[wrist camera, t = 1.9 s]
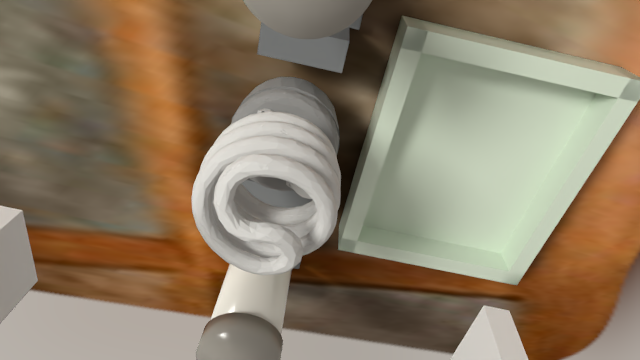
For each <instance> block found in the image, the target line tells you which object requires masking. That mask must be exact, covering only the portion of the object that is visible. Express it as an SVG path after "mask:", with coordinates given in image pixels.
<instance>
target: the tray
mask: <svg viewBox="0 0 640 360" xmlns="http://www.w3.org/2000/svg"><path fill="white" fill-rule="evenodd" d="M639 99H640V77H638V76H636V75H635V74H633V73H631V72H629V71H627V70H626V69H624V68H622V67H619V66H614V65H610V64H606V63H602V62H597V61H593V60H589V59H585V58H580V57H576V56H572V55H568V54H564V53H559V52H555V51H551V50H547V49H542V48H538V47H534V46H530V45H525V44H521V43H517V42H513V41H508V40H504V39H500V38H496V37H492V36H487V35H483V34H479V33H475V32H470V31H466V30H462V29H458V28H453V27H449V26H445V25H441V24H437V23H432V22H428V21H424V20H420V19H415V18H411V17H407V16H403V15H402V16H401V20H400V23H399V26H398V30H397V33H396V36H395V40H394V43H393V47H392V50H391V53H390V57H389V60H388V63H387V67H386V70H385V73H384V77H383V80H382V83H381V87H380V90H379V93H378V97H377V100H376V103H375V107H374V110H373V113H372V117H371V120H370V123H369V127H368V130H367V133H366V137H365V140H364V143H363V147H362V150H361V153H360V157H359V160H358V163H357V167H356V170H355V173H354V177H353V180H352V183H351V187H350V190H349V193H348V197H347V200H346V203H345V207H344V210H343V213H342V217H341V220H340V223H339V240H338V250H342V251H347V252H352V253H357V254H362V255H367V256H372V257H377V258H382V259H387V260H392V261H398V262H403V263H408V264H413V265H418V266H423V267H428V268H433V269H438V270H443V271H448V272H453V273H458V274H463V275H468V276H473V277H478V278H483V279H488V280H493V281H498V282H503V283H508V284H513V285H517V284H518V283H519V281H520V280H521V278H522V277H523V275H524V274H525V272H526V271H527V269H528V268H529V266H530V265H531V263H532V262H533V260H534V259H535V257H536V255H537V254H538V252H539V251H540V249H541V248H542V246H543V245H544V243H545V242H546V240H547V239H548V237H549V236H550V234H551V233H552V231H553V230H554V228H555V227H556V225H557V224H558V222H559V221H560V219H561V218H562V216H563V215H564V213H565V212H566V210H567V208H568V207H569V205H570V204H571V202H572V201H573V199H574V198H575V196H576V195H577V193H578V192H579V190H580V189H581V187H582V186H583V184H584V183H585V181H586V180H587V178H588V177H589V175H590V174H591V172H592V171H593V169H594V168H595V166H596V165H597V163H598V162H599V160H600V158H601V157H602V155H603V154H604V152H605V151H606V149H607V148H608V146H609V145H610V143H611V142H612V140H613V139H614V137H615V136H616V134H617V133H618V131H619V130H620V128H621V127H622V125H623V124H624V122H625V121H626V119H627V118H628V116H629V115H630V113H631V111H632V110H633V108H634V107H635V105H636V104H637V102H638V101H639Z"/></svg>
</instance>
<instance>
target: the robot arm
mask: <svg viewBox="0 0 640 360" xmlns="http://www.w3.org/2000/svg"><path fill="white" fill-rule="evenodd" d="M37 281H38V279H37V274H36V270H35V265H34V261H33V256H32V252H31V247H30V243H29V238H28V234H27V229H26V225H25V220H24V216H23V211H22V210H18V209H14V208H9V207H4V206H0V323H1V322H2V321H3V320H4V318H6V316H7V315H8V314H9V313H10V312H11V311H12V310H13V308H14V307H15V306H16V305H17V304H18V303H19V301H20V300H21V299H22V298H23V297H24V296H25V295H26V294H27V292H28V291H29V290H30V289H31V288H32V287H33V286H34V284H35V283H36V282H37ZM450 360H528V358H527V355H526V352H525V350H524V347H523V345H522V342H521V340H520V337H519V334H518V332H517V329H516V327H515V324H514V322H513V319H512V316H511V314H510V311H509V310H504V309H499V308H494V307H489V306H483V308H482V309H481V311H480V312H479V314H478V316H477V317H476V319H475V320H474V322H473V324H472V325H471V327H470V328H469V330H468V332H467V333H466V335H465V336H464V338H463V340H462V341H461V343H460V344H459V346H458V348H457V349H456V351H455V352H454V354H453V356H452V357H451V359H450Z"/></svg>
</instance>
